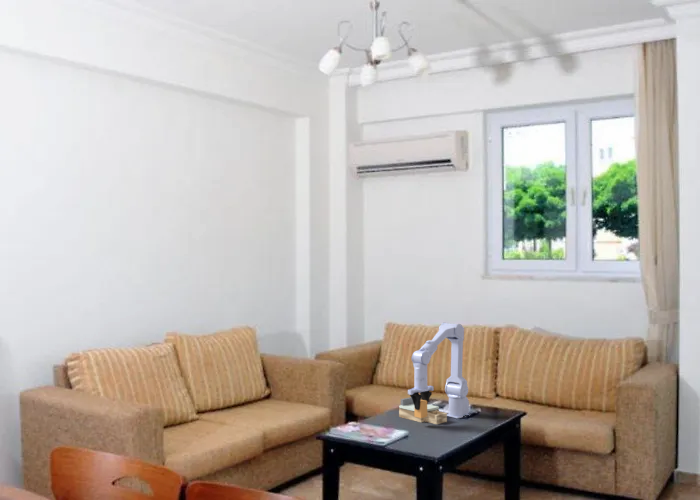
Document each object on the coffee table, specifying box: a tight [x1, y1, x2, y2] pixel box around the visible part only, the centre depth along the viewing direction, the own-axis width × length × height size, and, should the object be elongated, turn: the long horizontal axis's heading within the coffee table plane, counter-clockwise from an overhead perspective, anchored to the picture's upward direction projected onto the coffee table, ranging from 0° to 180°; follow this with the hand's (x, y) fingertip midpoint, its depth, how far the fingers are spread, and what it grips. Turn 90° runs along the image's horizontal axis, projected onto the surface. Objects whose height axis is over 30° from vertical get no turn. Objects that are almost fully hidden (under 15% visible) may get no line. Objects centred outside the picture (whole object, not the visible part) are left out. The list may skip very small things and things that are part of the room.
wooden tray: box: [398, 408, 448, 425], centre depth 337 cm, size 12×21×4 cm, turn 41°
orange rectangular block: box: [414, 400, 427, 418], centre depth 324 cm, size 4×4×7 cm
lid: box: [398, 396, 440, 411], centre depth 340 cm, size 12×14×4 cm
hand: (420, 408), depth 324 cm, fingers closed on orange rectangular block, 4 cm apart
